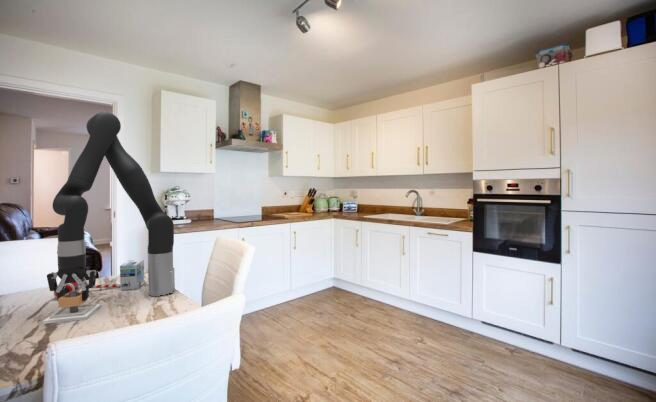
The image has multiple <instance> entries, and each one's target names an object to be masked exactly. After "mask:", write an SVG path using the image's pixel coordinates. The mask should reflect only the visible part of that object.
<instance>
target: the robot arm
mask: <svg viewBox="0 0 656 402" xmlns="http://www.w3.org/2000/svg"><path fill="white" fill-rule="evenodd" d="M121 126H122V124H121V121H120V119H119V118H118V117H117V116H116V115H115V114H113V113H112V112H108V111H102V112H98V113H95V114H94V115H93V116H92V117H91V118H90V119H88V121H87V122H86V131H87V133H88V134H89V138H88V141H87V143H86V144H85V147H84V148H83V150H82V152H81V153H80V155H79V156H78V158H77V160H76V161H75V163H74V165H73V166H72V169H71V171H70V174H69V175H68V178H67V180H66V182H65V183H64V184H63V185H62V187H61V188H60V189H59V190H58V192H57V194H56V195H55V196H54V198H53V201H52V209H53V211H54V212H55V214H57V215H59V216H64V219H63V223H61V224H59V225H58V227H57V251H56V254H57V268H58V269H57V272H54V271H53V272H49V273H48V274H46V279H47V284H48V288H49V291H50V292H54V291H56V292H57V298H56V300H57V301H58V299H59V298H60V297H62V296H64V295H65V291H64V288H65V286H66V285H67V283H77V284H78V285H79V286H80V287H81V289H80V290H81V292H82V301H85V302H87V301H88V300H87V298H88V299H89V297H90V289H93V288H92V287H93V286H95V285H96V281H97V274H98V271H97V269H92V270H88V269H87V254H86V253H87V250H86V248H87V247H86V242H85V225H86V221H87V217H88V213H89V204H88V201H87V199H86V198H85V197H83V194H84V193H86V192H89V191H90V190H91V189H92V187H93V185H94V183H95V179H96V177H97V175H98V172H99V170H100V167H101V165H102V163H103V160H104V158H105V159H106V161H107V162H108V164H109V166H110V168H111V169H112V171H113V173H114V175H115V176H116V178H117V180H118V182H119V184H120V185H121V187H122V189H123V190H124V192H125V193H126V194H127V196H128V197H129V199H130V200H131V201H132V202H133V203H134V205H135V206H136V207H137V209H138V210H139V211H138V212H139V213H140V215H141V218H143V219H142V220H143V222H144V224H145V228H147V232H148V233H147V235H148V236H147V238H148V239H147V241H148V242H147V243H148V244H147V271H148V273H147V275H148V279H147V280H148V281H147V282H148V283H147V284H148V295H149V296H150V295H151V297H161V296H160V295H163V296H166V295H165V294H168V295H170V294H169V293H172V292H173V291H174V292H175V290H174V289H175V288H176V287H175V286H176V283H175V280H176V279H175V276H176V275H175V268H174V243H175V228H174V227H175V225H174V221H173V219H172V218H171V216H169V215H167V214H166V213H165V212H164V210H163V209H162V207H161V206H160V204H159V203H158V201H157V199H156V198H155V194H154V191H153V187H152V186H151V184H150V180H149V179H148V176H147V175H146V173H145V171H144V169H143V167H142V166H141V164H139V163H138V162H137V161H136V160H135V159H134V157H132V156H131V154H129V153H128V152H127V151H126V150H125V148H124V147H123V145H122V143H121V141H120V140H119V137H118V134H119V133H120V131H121V130H122V129H121V128H122V127H121ZM86 275H87V277H88V280H87V279H86V278H85V276H86ZM57 278H59V279H60V281H59V283H58V282H57ZM87 281H88V282H87ZM174 292H173V293H174ZM173 293H172V294H173ZM86 300H87V301H86Z"/></svg>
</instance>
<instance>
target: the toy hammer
mask: <svg viewBox="0 0 656 402" xmlns="http://www.w3.org/2000/svg"><path fill="white" fill-rule="evenodd" d="M107 288H108V289H110V288H121V284H120V283H115V284H113V283H112V284H111V283H110V284H95V286H93V287H92V288H91V289H107ZM77 290H82V289H81V287H80V286H79V285H78V284H77V283H67V285H66V286H65V288H64V291H65V294H67V293H69V292H71V291H77ZM53 296H54V297H55V298H56V299H57V292H56V291H53Z"/></svg>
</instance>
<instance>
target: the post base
mask: <svg viewBox="0 0 656 402" xmlns="http://www.w3.org/2000/svg"><path fill="white" fill-rule="evenodd" d="M78 292H79V290H75V291H71V292H69V297H77V296H78ZM101 307H102V303H97V302H94V303H93V302H91V303H83V304H81V305H80V306H73V307H61V308H59V309H58V310H56V311H55V312H54V313H52V314H51V315H50V316H48V317H47V318H45V319H44V320H42V325H47V324H55V323H65V322H67V323H68V322H75V321H85V320H88V319H89V318H90V317H92V315H94V314H95V313H96V312H97V311H98V310H100V308H101Z"/></svg>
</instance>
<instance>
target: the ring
mask: <svg viewBox="0 0 656 402" xmlns="http://www.w3.org/2000/svg"><path fill="white" fill-rule="evenodd" d="M88 299H89V297H88V298H87V300H86V301H82V291H78V296H77V297H69V293H67V294H65V295H64V296H62V297H60V298H59V299H58V300H57V304H58V308H59V309H61V308H62V307H73V306H80V305H81V304H85V303H86V302H87V301H88Z"/></svg>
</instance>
